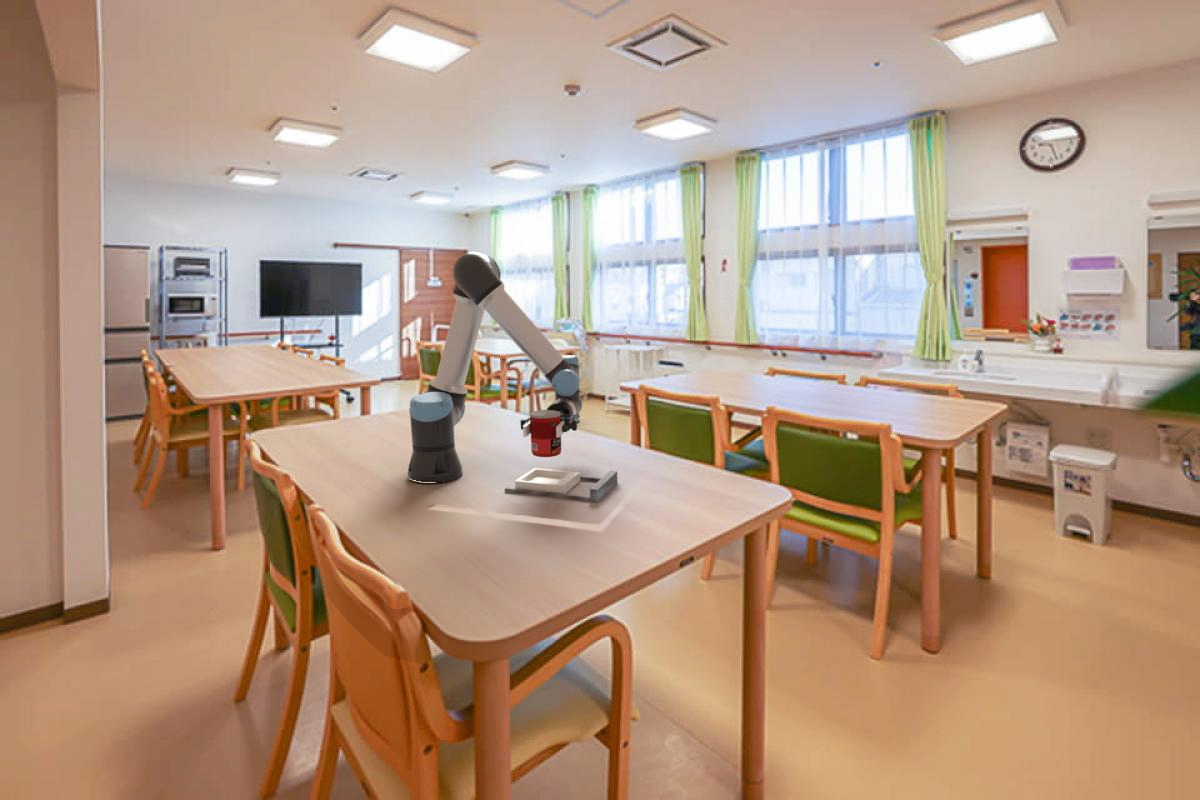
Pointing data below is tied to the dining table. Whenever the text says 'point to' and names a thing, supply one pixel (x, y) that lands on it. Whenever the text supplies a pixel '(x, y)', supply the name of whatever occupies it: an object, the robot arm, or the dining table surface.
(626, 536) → the dining table surface
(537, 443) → the canned food
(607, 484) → the slide board
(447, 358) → the robot arm
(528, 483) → the carriage
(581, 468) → the dining table surface
